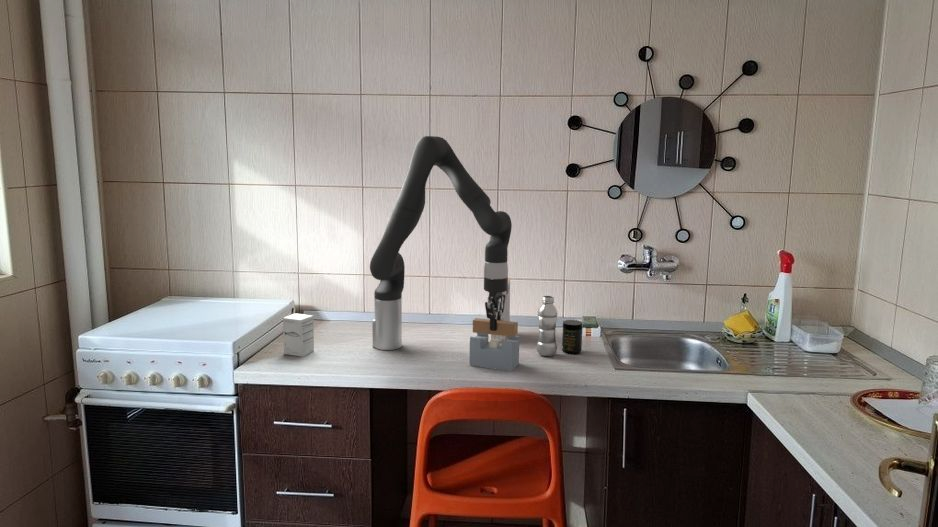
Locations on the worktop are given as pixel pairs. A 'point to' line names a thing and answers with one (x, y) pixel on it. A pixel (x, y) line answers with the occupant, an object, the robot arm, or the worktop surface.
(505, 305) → the cracker box
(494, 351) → the notched gray block
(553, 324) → the plastic bottle
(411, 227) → the robot arm
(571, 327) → the supplement container
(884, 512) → the worktop surface
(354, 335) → the worktop surface
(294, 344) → the supplement box
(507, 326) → the frame bar
